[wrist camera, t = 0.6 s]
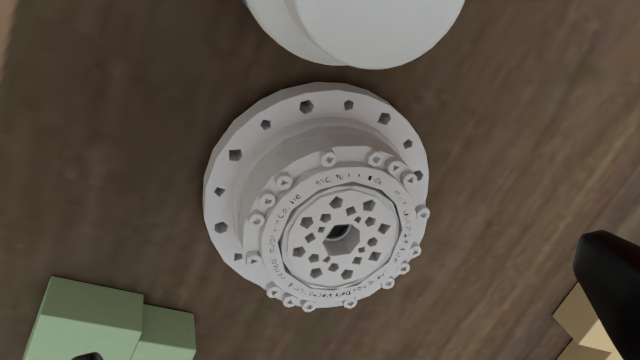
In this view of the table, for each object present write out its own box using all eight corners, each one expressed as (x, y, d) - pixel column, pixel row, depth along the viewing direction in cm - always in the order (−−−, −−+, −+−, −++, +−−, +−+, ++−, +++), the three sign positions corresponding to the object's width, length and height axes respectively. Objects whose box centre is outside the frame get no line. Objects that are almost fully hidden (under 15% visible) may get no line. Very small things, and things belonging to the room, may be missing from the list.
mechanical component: (333, 300, 28) (457, 149, 25) (360, 364, 24) (508, 194, 22) (158, 226, 23) (287, 32, 21) (157, 291, 20) (316, 63, 17)
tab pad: (27, 343, 24) (14, 387, 22) (51, 275, 23) (40, 314, 21) (169, 365, 27) (169, 406, 25) (198, 305, 26) (201, 342, 24)
